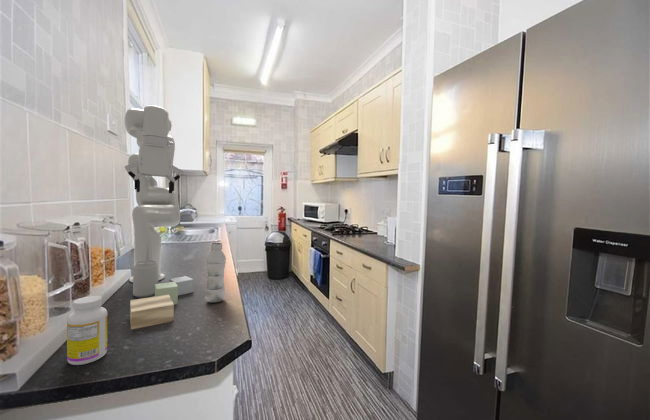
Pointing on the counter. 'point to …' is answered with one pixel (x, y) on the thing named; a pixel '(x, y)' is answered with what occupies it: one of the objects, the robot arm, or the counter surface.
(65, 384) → the counter surface
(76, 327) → the supplement bottle
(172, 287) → the sage-green block
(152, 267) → the can
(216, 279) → the plastic bottle
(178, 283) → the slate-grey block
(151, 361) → the counter surface
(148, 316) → the beech block
